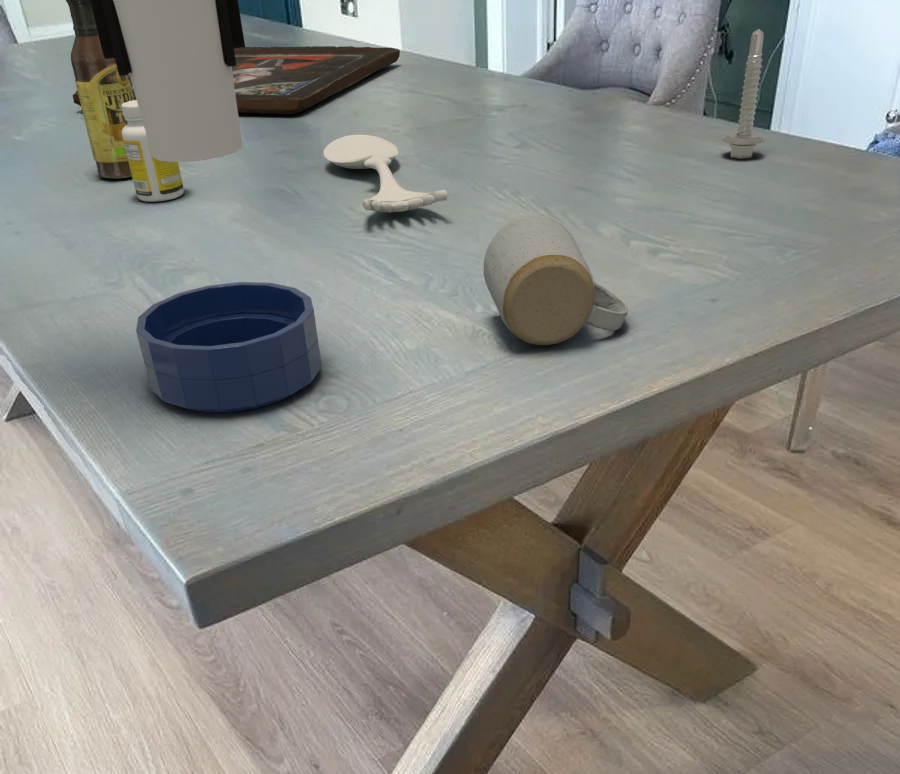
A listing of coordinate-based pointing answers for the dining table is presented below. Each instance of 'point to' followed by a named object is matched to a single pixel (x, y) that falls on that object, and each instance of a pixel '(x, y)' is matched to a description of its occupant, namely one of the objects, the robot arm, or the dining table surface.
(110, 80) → the sauce bottle
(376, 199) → the cream back scratcher
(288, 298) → the bowl
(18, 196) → the dining table surface
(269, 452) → the dining table surface
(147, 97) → the white cylindrical cup
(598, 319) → the ceramic mug
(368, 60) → the religious icon
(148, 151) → the supplement bottle
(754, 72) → the screw
